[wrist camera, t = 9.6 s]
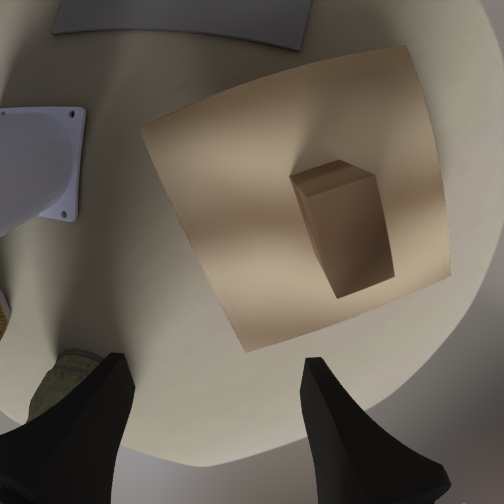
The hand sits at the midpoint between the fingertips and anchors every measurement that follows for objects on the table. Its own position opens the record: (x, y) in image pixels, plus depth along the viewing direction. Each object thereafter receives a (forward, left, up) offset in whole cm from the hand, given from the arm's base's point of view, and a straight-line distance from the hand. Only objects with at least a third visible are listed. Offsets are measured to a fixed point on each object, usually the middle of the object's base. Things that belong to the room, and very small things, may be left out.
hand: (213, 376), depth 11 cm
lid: (+4, +6, -5) cm, 9 cm away
